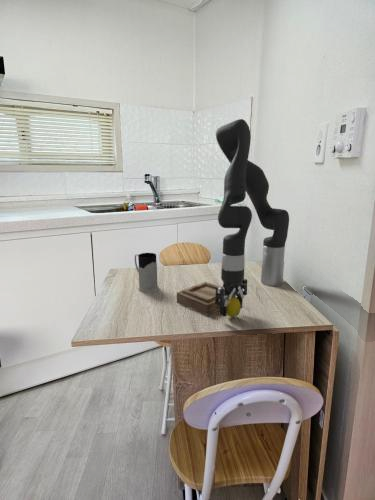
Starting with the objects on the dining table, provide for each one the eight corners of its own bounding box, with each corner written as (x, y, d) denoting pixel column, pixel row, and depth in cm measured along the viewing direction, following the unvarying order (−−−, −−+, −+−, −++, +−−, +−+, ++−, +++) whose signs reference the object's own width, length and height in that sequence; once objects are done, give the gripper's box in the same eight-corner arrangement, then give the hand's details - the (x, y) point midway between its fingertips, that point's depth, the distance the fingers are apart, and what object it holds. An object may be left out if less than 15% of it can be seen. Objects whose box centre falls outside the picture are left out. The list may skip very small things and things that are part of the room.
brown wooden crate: (205, 291, 130) (205, 280, 129) (235, 302, 119) (235, 290, 118) (176, 302, 120) (176, 290, 119) (207, 315, 109) (207, 302, 107)
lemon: (222, 314, 109) (223, 293, 107) (237, 313, 110) (238, 292, 108) (225, 321, 104) (226, 299, 102) (241, 321, 105) (242, 299, 103)
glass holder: (145, 294, 128) (144, 259, 124) (127, 284, 138) (126, 252, 134) (162, 288, 133) (161, 255, 130) (144, 280, 144) (143, 249, 140)
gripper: (237, 260, 110) (235, 302, 114) (209, 268, 100) (209, 314, 104) (254, 264, 105) (252, 308, 109) (228, 274, 95) (226, 322, 99)
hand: (231, 311), depth 106 cm, fingers open, 8 cm apart
